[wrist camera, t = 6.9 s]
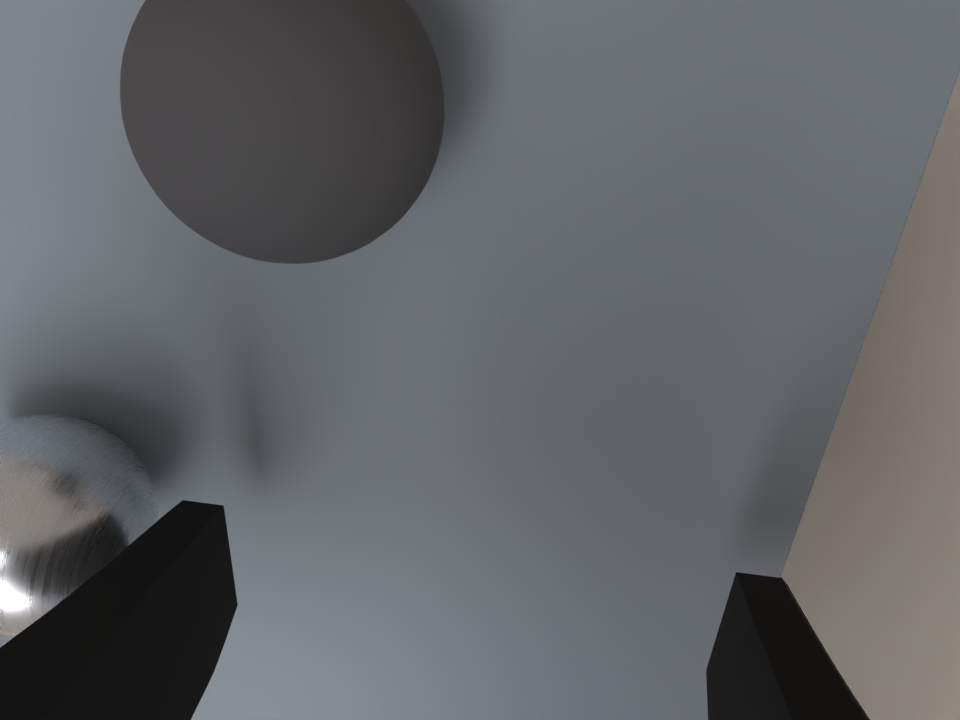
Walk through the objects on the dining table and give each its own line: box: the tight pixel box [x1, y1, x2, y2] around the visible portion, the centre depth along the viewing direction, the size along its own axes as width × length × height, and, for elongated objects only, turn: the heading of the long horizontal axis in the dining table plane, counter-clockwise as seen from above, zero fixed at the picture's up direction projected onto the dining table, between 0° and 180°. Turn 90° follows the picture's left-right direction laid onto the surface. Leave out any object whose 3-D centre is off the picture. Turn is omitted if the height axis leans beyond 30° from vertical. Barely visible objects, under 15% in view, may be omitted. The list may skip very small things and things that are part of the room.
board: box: [0, 0, 960, 720], centre depth 14 cm, size 16×22×4 cm
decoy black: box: [120, 0, 445, 264], centre depth 9 cm, size 3×3×3 cm
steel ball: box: [0, 414, 158, 636], centre depth 13 cm, size 3×3×3 cm
